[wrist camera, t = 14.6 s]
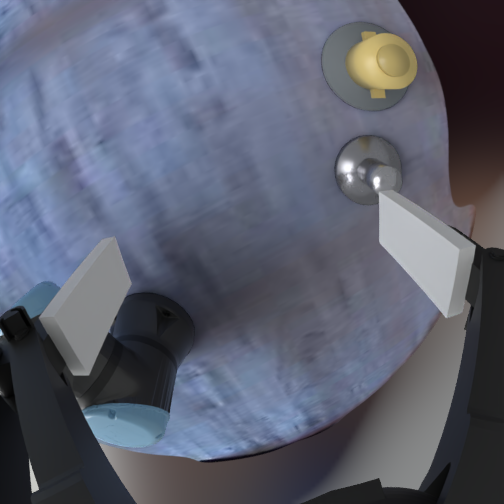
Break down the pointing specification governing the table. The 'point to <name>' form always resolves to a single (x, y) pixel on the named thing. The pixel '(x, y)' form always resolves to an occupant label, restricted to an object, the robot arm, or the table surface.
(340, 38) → the rubber mat
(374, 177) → the metal disc with peg
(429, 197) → the table surface
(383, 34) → the cap
